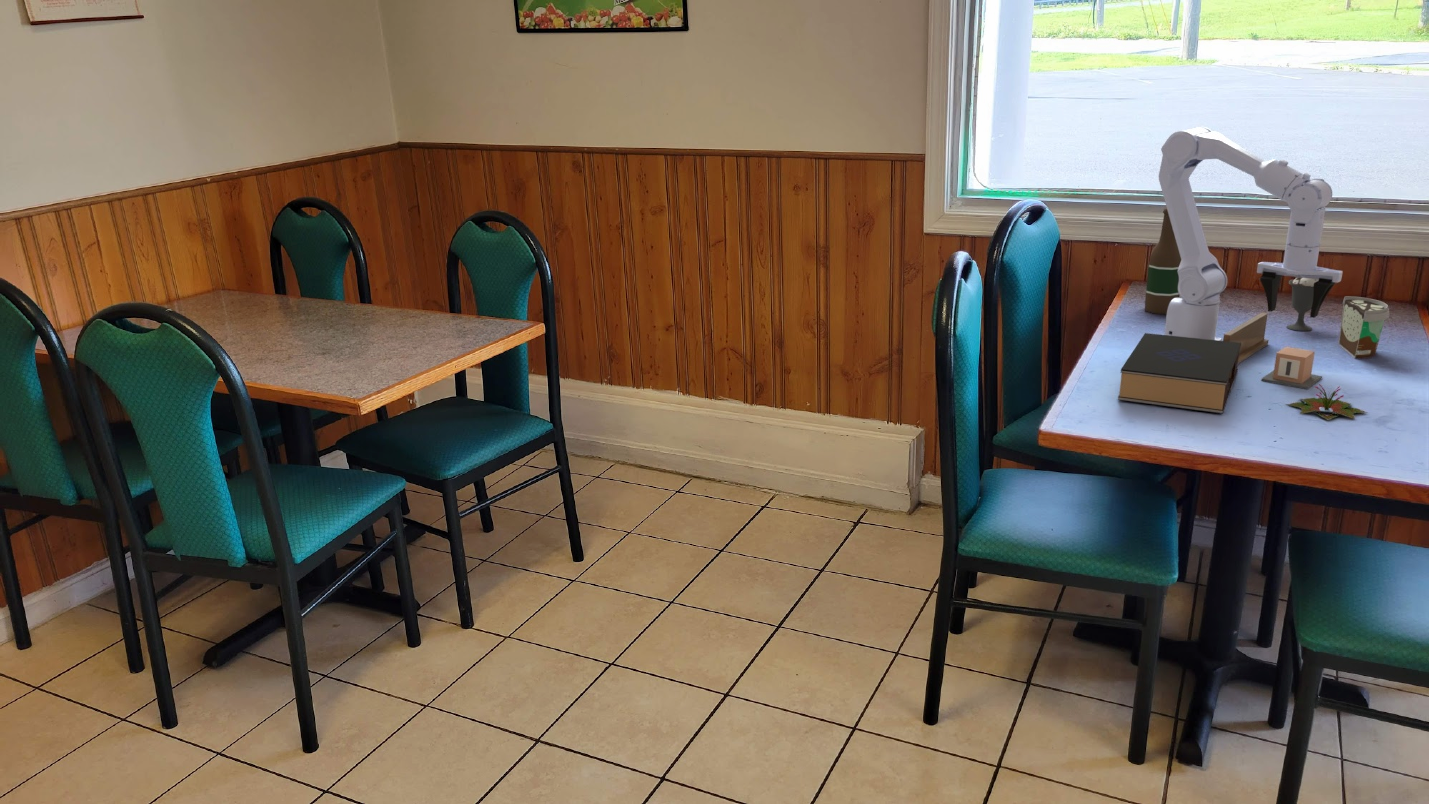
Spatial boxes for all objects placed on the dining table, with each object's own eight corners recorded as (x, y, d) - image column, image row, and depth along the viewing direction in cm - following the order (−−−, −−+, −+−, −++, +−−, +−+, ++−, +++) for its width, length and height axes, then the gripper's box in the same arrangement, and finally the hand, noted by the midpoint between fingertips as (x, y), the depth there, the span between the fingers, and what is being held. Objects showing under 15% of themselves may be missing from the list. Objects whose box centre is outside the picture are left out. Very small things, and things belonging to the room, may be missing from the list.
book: (1237, 375, 201) (1241, 342, 199) (1222, 418, 181) (1227, 381, 178) (1141, 364, 209) (1144, 332, 207) (1117, 403, 189) (1120, 369, 187)
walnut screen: (1215, 365, 206) (1219, 333, 204) (1252, 341, 219) (1256, 311, 217) (1230, 368, 204) (1235, 336, 202) (1267, 344, 217) (1272, 314, 215)
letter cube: (1282, 371, 199) (1286, 346, 198) (1310, 376, 196) (1314, 351, 194) (1272, 378, 196) (1275, 353, 194) (1300, 384, 193) (1304, 358, 191)
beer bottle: (1184, 314, 240) (1196, 209, 232) (1150, 315, 241) (1161, 211, 233) (1171, 305, 248) (1182, 204, 240) (1138, 306, 248) (1148, 205, 240)
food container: (1392, 361, 204) (1401, 311, 200) (1357, 360, 205) (1366, 311, 201) (1368, 343, 215) (1377, 295, 212) (1335, 342, 216) (1343, 295, 213)
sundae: (1309, 334, 222) (1321, 264, 217) (1277, 328, 227) (1287, 260, 222) (1322, 327, 226) (1333, 259, 221) (1289, 322, 231) (1299, 255, 226)
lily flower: (1327, 428, 174) (1331, 402, 173) (1270, 406, 185) (1274, 381, 184) (1382, 418, 178) (1387, 392, 176) (1324, 396, 189) (1328, 372, 187)
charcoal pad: (1261, 380, 196) (1261, 378, 196) (1276, 370, 202) (1276, 368, 202) (1307, 389, 191) (1307, 387, 191) (1321, 378, 196) (1322, 376, 196)
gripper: (1255, 243, 202) (1245, 311, 207) (1338, 252, 192) (1326, 323, 197) (1268, 237, 207) (1259, 304, 211) (1350, 246, 197) (1338, 315, 201)
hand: (1292, 313), depth 204 cm, fingers open, 7 cm apart
